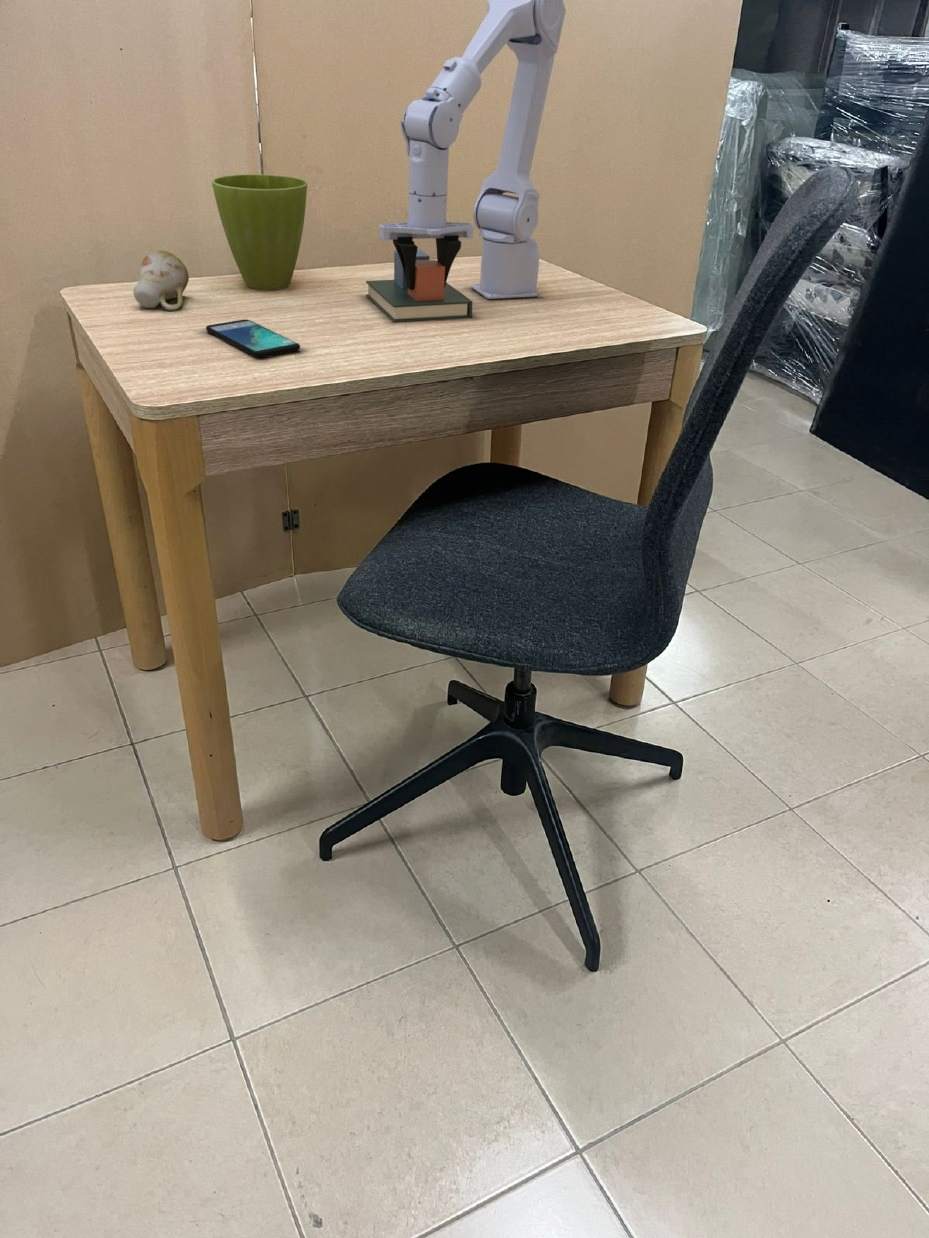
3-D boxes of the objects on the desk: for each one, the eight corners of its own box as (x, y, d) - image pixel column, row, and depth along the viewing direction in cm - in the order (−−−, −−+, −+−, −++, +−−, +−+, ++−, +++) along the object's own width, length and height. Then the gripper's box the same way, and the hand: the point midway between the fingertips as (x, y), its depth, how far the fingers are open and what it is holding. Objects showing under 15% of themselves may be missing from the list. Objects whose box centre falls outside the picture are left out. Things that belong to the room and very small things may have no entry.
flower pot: (203, 282, 152) (192, 178, 143) (273, 269, 162) (266, 171, 153) (260, 301, 144) (251, 192, 136) (329, 287, 154) (326, 184, 145)
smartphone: (247, 318, 134) (302, 345, 125) (248, 323, 134) (302, 350, 125) (203, 325, 130) (256, 353, 121) (203, 331, 130) (257, 359, 121)
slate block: (419, 281, 151) (420, 249, 148) (428, 288, 147) (429, 256, 144) (393, 282, 149) (394, 250, 146) (402, 289, 146) (402, 256, 143)
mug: (121, 311, 137) (116, 244, 136) (161, 325, 146) (157, 262, 145) (163, 304, 135) (157, 236, 134) (201, 319, 144) (196, 255, 143)
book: (439, 292, 155) (439, 277, 153) (471, 317, 143) (472, 301, 142) (366, 296, 150) (365, 280, 149) (393, 322, 139) (393, 305, 138)
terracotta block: (434, 292, 145) (435, 259, 142) (443, 300, 142) (445, 266, 139) (407, 293, 144) (407, 260, 141) (416, 301, 140) (417, 267, 138)
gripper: (389, 198, 129) (388, 296, 137) (483, 197, 134) (477, 292, 141) (375, 190, 134) (375, 284, 142) (465, 189, 139) (461, 280, 147)
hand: (425, 287), depth 142 cm, fingers closed on terracotta block, 4 cm apart
